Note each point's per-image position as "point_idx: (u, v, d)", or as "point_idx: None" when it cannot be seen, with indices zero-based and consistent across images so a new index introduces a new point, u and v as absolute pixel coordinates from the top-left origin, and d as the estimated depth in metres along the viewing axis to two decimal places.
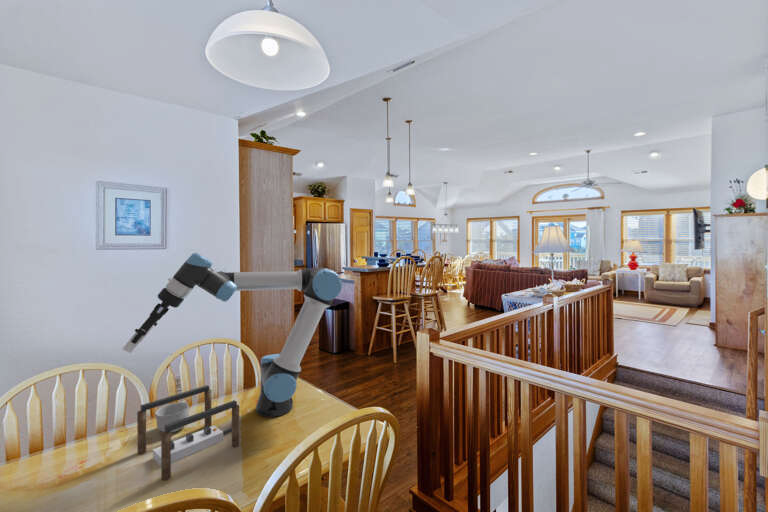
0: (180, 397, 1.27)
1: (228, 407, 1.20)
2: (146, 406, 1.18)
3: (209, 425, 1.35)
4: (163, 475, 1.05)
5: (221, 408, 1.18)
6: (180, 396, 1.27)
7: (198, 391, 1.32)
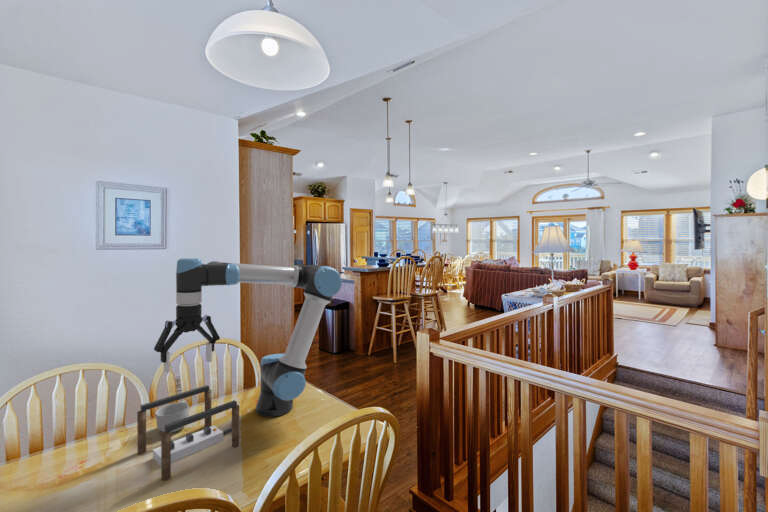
0: (180, 397, 1.27)
1: (228, 407, 1.20)
2: (146, 406, 1.18)
3: (209, 425, 1.35)
4: (163, 475, 1.05)
5: (221, 408, 1.18)
6: (180, 396, 1.27)
7: (198, 391, 1.32)
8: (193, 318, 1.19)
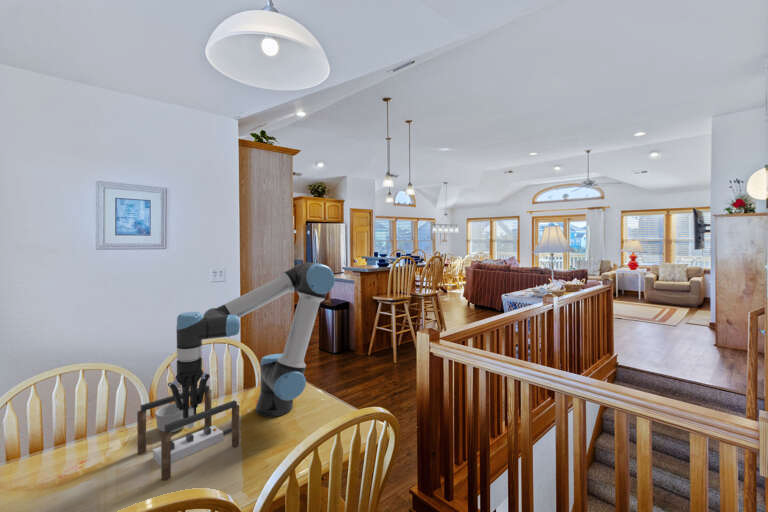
0: None
1: (228, 407, 1.20)
2: (146, 406, 1.18)
3: (209, 425, 1.35)
4: (163, 475, 1.05)
5: (221, 408, 1.18)
6: (180, 396, 1.27)
7: None
8: None
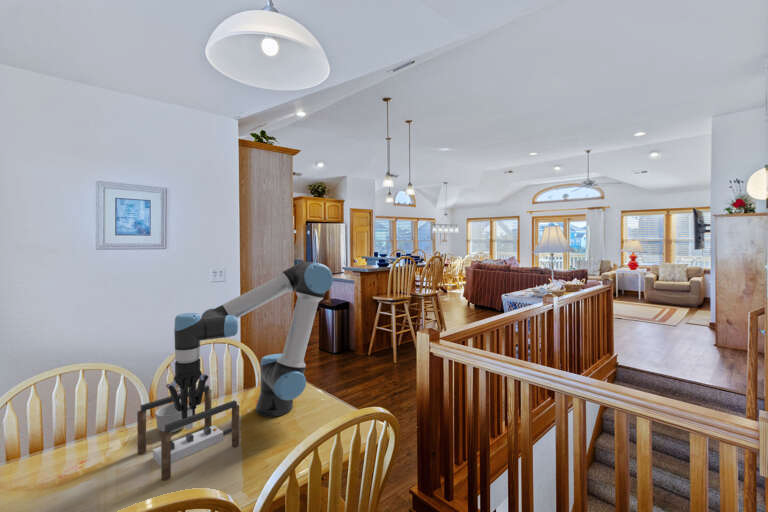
0: (180, 397, 1.27)
1: (228, 407, 1.20)
2: (146, 406, 1.18)
3: (209, 425, 1.35)
4: (163, 475, 1.05)
5: (221, 408, 1.18)
6: (180, 396, 1.27)
7: None
8: None
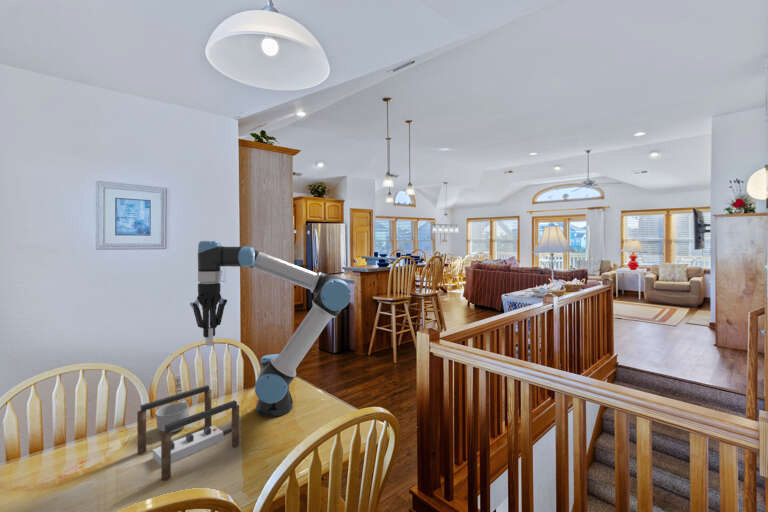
0: (180, 397, 1.27)
1: (228, 407, 1.20)
2: (146, 406, 1.18)
3: (209, 425, 1.35)
4: (163, 475, 1.05)
5: (221, 408, 1.18)
6: (180, 396, 1.27)
7: (198, 391, 1.32)
8: None
